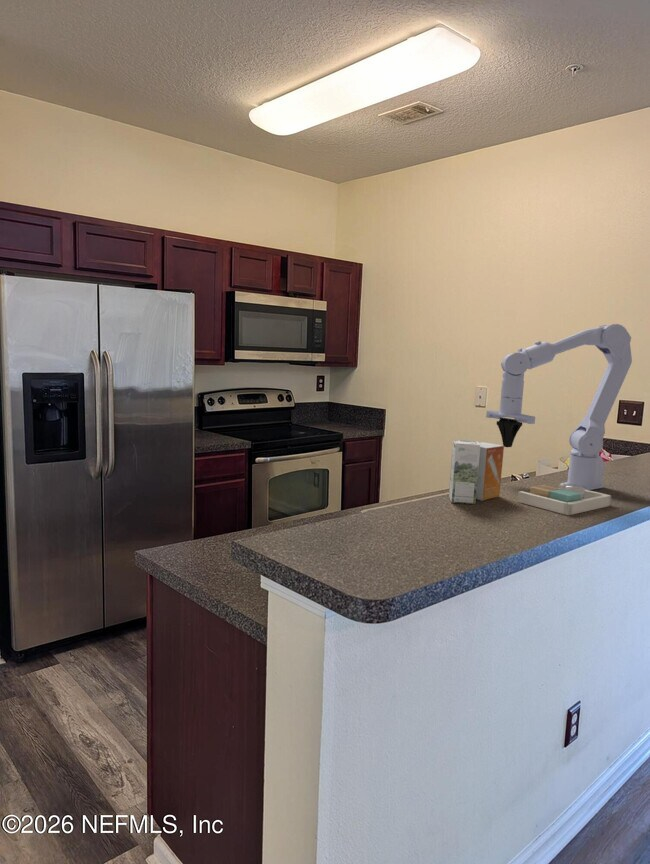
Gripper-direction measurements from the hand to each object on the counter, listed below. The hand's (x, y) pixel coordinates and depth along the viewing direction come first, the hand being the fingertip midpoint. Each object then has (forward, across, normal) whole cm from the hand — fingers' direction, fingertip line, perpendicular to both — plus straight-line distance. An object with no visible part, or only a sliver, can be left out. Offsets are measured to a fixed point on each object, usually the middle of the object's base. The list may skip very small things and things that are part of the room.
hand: (507, 446), depth 168 cm
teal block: (+10, +25, -11) cm, 29 cm away
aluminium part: (+10, +22, -3) cm, 25 cm away
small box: (+10, +8, -20) cm, 24 cm away
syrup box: (+10, +9, -28) cm, 31 cm away
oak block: (+10, +20, -11) cm, 25 cm away
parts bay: (+10, +23, -7) cm, 26 cm away
